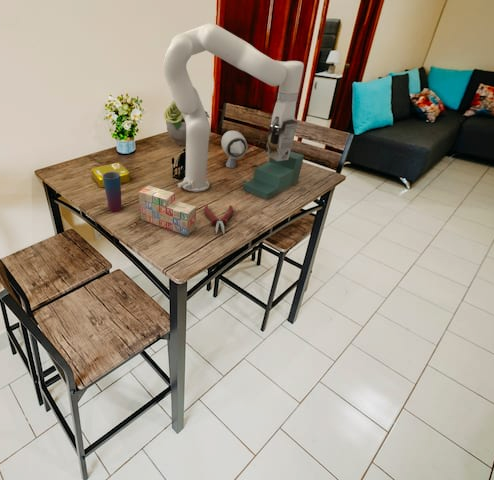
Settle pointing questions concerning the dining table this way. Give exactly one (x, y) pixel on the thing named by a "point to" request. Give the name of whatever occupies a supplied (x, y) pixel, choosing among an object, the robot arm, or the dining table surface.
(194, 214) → the stack of blocks
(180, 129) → the potted succulent plant
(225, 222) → the pliers
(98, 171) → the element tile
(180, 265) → the dining table surface
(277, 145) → the coffee box
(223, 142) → the white rounded piece
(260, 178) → the step shelf
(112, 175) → the cup
